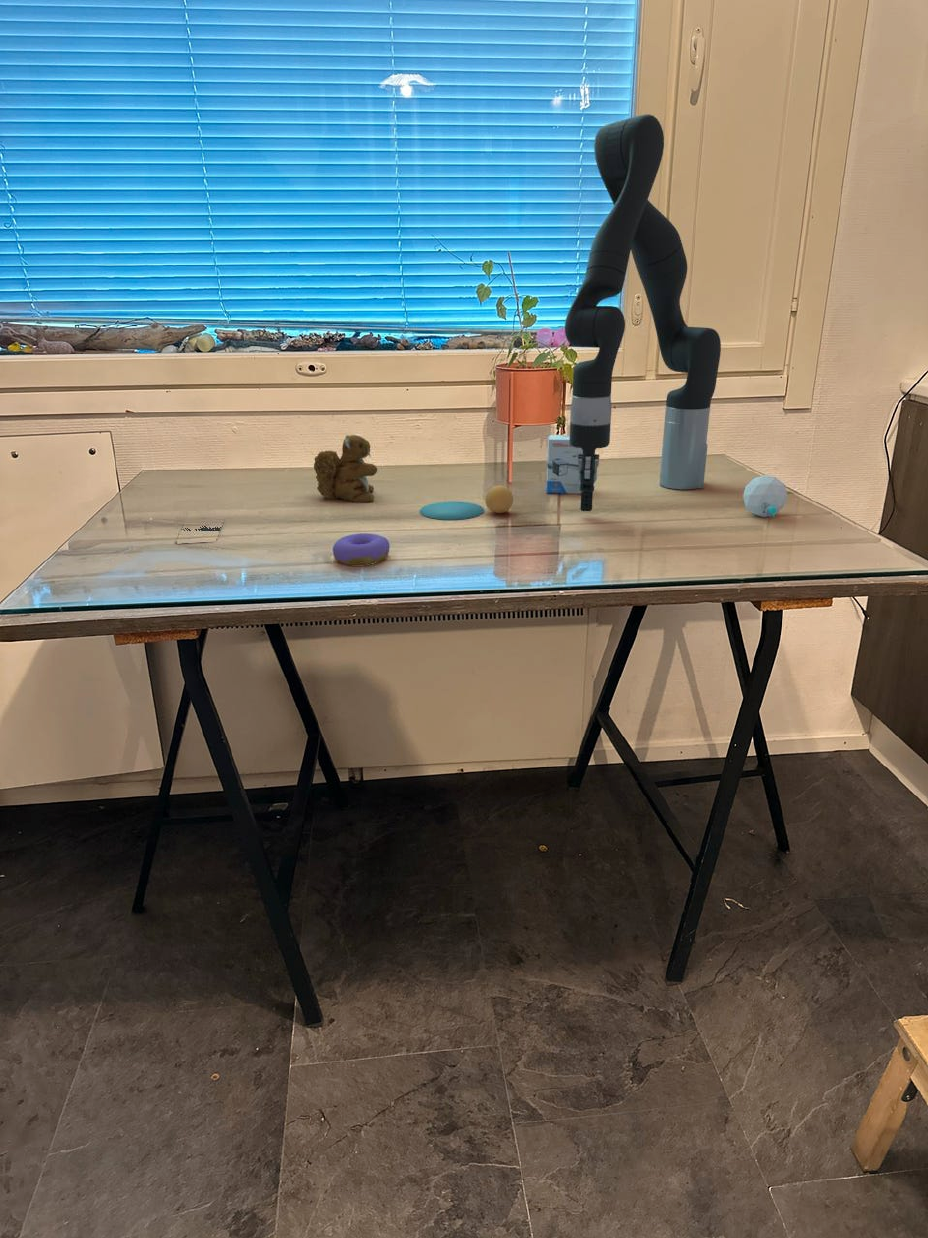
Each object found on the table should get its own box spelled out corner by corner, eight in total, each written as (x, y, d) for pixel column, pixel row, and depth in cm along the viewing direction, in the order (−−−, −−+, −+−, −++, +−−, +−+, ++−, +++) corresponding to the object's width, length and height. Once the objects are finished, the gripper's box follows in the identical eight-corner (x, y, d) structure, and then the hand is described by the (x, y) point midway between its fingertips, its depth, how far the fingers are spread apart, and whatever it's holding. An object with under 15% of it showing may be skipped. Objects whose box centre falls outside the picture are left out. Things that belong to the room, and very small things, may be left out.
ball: (520, 498, 164) (503, 476, 163) (516, 505, 159) (498, 483, 158) (499, 514, 166) (482, 493, 165) (495, 521, 161) (477, 500, 160)
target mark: (488, 503, 170) (488, 502, 170) (478, 521, 158) (478, 520, 158) (427, 501, 172) (427, 500, 172) (413, 518, 160) (413, 517, 160)
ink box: (546, 493, 176) (547, 439, 171) (546, 488, 181) (547, 434, 176) (586, 494, 175) (588, 439, 171) (585, 488, 180) (587, 434, 175)
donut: (362, 544, 145) (364, 519, 143) (399, 564, 141) (402, 539, 138) (319, 558, 138) (321, 533, 136) (357, 581, 134) (360, 554, 131)
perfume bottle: (789, 492, 161) (804, 516, 150) (751, 514, 164) (763, 539, 154) (770, 461, 158) (784, 483, 148) (732, 484, 161) (743, 508, 151)
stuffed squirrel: (376, 502, 172) (372, 440, 166) (310, 503, 172) (304, 440, 167) (381, 490, 181) (378, 430, 176) (318, 491, 181) (313, 431, 176)
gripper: (610, 426, 145) (605, 520, 152) (611, 414, 157) (606, 501, 164) (568, 426, 146) (564, 519, 153) (571, 413, 158) (568, 500, 165)
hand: (586, 509), depth 159 cm, fingers closed
